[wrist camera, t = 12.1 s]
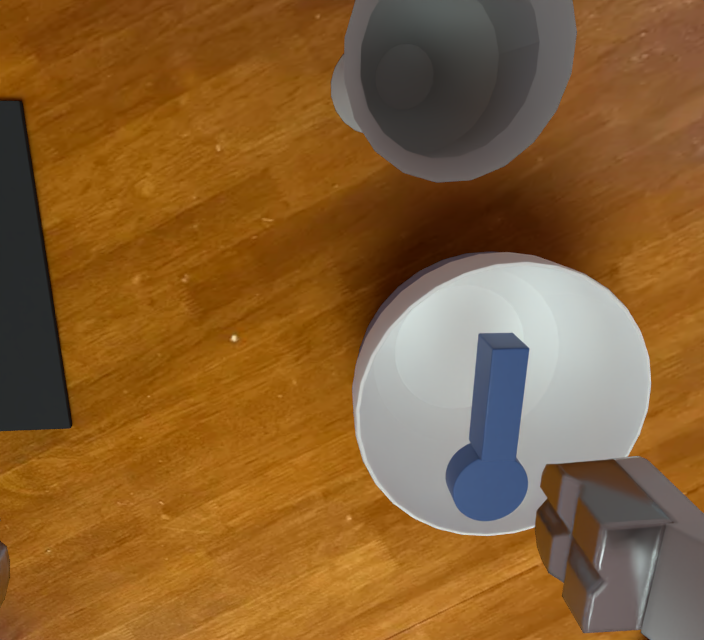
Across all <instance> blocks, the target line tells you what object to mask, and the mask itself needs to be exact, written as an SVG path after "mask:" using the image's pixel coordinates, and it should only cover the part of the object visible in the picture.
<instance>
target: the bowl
mask: <svg viewBox="0 0 704 640" xmlns="http://www.w3.org/2000/svg"><path fill="white" fill-rule="evenodd" d="M479 333H514V334H515V335H516V336H517V337H518V338H519V339H520V340H521V341H522V342H523V343H524V344H525V345H526V346H527V347H529V357H528V365H527V373H526V381H525V389H524V397H523V406H522V414H521V422H520V430H519V438H518V446H517V455H516V457H517V459H518V460H519V462H520V463H521V465H522V466H523V468H524V469H525V471H526V474H527V477H528V489H527V493H526V496H525V498H524V500H523V501H522V503H521V504H520V505H519V506H518V508H516V509H515V510H514V511H513V512H512V513H510V514H509V515H507V516H505V517H503V518H500V519H497V520H493V521H477V520H473V519H471V518H469V517H467V516H465V515H464V514H462V513H461V512H460V511H459V510H458V508H457V507H456V505H455V503H454V501H453V498H452V496H451V494H450V492H449V489H448V487H447V484H446V469H447V466H448V463H449V461H450V460H451V458H452V457H453V455H454V454H455V453H456V452H457V451H458V450H459V449H461V448H462V447H464V446H465V445H467V444H469V443H470V441H469V431H470V420H471V409H472V398H473V387H474V376H475V366H476V355H477V344H478V334H479ZM650 388H651V376H650V363H649V356H648V352H647V349H646V346H645V343H644V340H643V337H642V333H641V331H640V329H639V327H638V326H637V324H636V322H635V321H634V319H633V317H632V316H631V314H630V312H629V311H628V309H627V307H626V306H625V305H624V304H623V303H622V302H621V301H620V300H619V299H618V298H617V297H616V296H615V295H614V294H613V293H612V292H611V291H610V290H609V289H608V288H606V287H605V286H603V285H602V284H600V283H599V282H597V281H595V280H594V279H592V278H591V277H589V276H588V275H586V274H584V273H582V272H579V271H576V270H574V269H571V268H568V267H566V266H563V265H560V264H558V263H555V262H552V261H549V260H546V259H544V258H541V257H538V256H535V255H527V254H519V253H512V252H479V253H466V254H462V255H459V256H455V257H451V258H448V259H444V260H441V261H439V262H437V263H435V264H433V265H431V266H429V267H427V268H425V269H423V270H421V271H419V272H417V273H416V274H415V275H413V276H412V277H411V278H409V279H408V280H407V281H405V282H404V283H402V284H401V285H400V286H398V287H397V289H396V290H395V291H394V292H393V293H392V294H391V295H390V296H389V297H388V298H387V299H386V300H385V302H384V303H383V304H382V305H381V306H380V308H379V309H378V311H377V313H376V314H375V316H374V317H373V319H372V321H371V322H370V324H369V325H368V328H367V331H366V333H365V336H364V338H363V341H362V344H361V346H360V350H359V355H358V359H357V362H356V368H355V374H354V380H353V386H352V393H353V411H354V422H355V432H356V438H357V442H358V445H359V449H360V452H361V456H362V459H363V462H364V464H365V466H366V467H367V469H368V471H369V473H370V475H371V477H372V478H373V480H374V482H375V484H376V485H377V486H378V487H379V488H380V489H381V490H382V492H383V493H384V494H385V495H386V496H387V497H388V498H389V499H390V501H391V502H392V503H393V504H395V505H396V506H398V507H399V508H400V509H402V510H403V511H404V512H406V513H407V514H409V515H410V516H411V517H413V518H414V519H417V520H419V521H421V522H423V523H425V524H428V525H430V526H432V527H434V528H437V529H441V530H445V531H449V532H453V533H457V534H462V535H479V536H492V535H501V534H510V533H516V532H520V531H523V530H527V529H530V528H534V527H535V520H536V511H537V509H538V508H539V507H540V506H541V505H542V504H543V503H544V502H545V500H546V499H547V497H546V495H545V494H544V492H543V491H542V489H541V488H540V483H541V476H542V472H543V470H544V468H545V466H546V464H553V463H567V462H581V461H595V460H607V459H611V458H622V457H628V455H629V453H630V451H631V449H632V447H633V446H634V444H635V442H636V440H637V438H638V436H639V434H640V431H641V428H642V425H643V422H644V419H645V416H646V413H647V410H648V404H649V396H650Z"/></svg>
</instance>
